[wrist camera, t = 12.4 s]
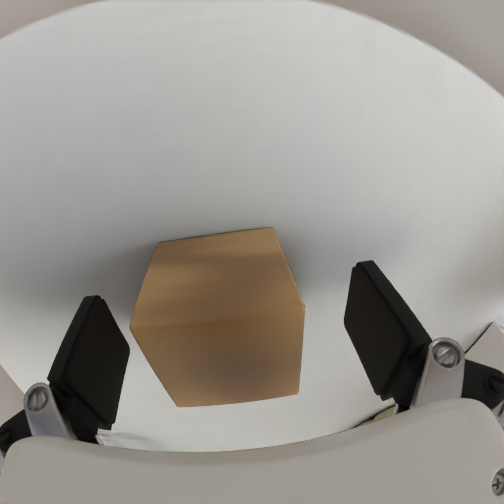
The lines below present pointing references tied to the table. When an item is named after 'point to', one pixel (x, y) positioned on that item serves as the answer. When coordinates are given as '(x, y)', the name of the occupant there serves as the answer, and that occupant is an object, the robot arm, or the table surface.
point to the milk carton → (489, 348)
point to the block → (221, 319)
